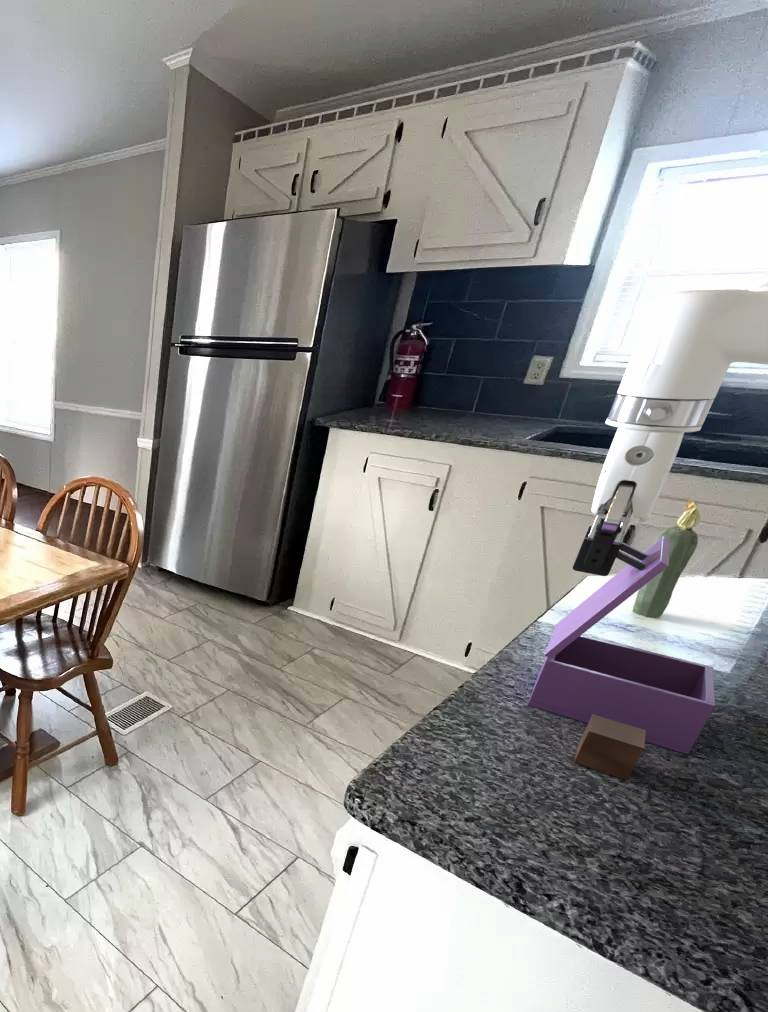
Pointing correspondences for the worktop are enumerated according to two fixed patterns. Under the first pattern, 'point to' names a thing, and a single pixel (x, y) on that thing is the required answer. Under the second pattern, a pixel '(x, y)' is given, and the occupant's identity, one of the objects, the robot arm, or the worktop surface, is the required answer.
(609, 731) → the block
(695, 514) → the vegetable
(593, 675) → the document box
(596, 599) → the lid
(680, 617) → the worktop surface
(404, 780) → the worktop surface
